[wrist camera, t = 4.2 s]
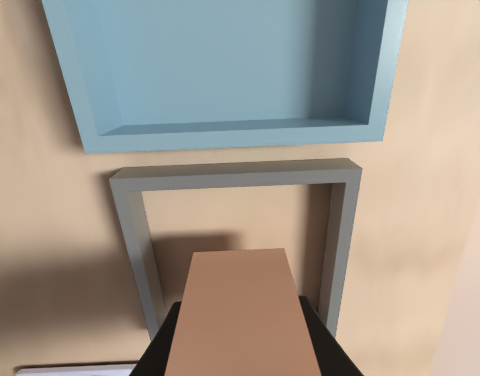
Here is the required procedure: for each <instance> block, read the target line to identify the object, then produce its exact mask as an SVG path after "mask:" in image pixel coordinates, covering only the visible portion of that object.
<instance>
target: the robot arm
mask: <svg viewBox="0 0 480 376" xmlns="http://www.w3.org/2000/svg"><path fill="white" fill-rule="evenodd" d="M298 298H299V301H300V305H301V308H302V311H303V315H304V318H305V322H306V325H307V328H308V332H309V335H310V339H311V342H312V346H313V349H314V352H315V356H316V359H317V363H318V366H319V369H320V373H321V376H364V375H363V374H362V373H361V372H360V370H359V369H358V368H357V367H356V366H355V364H354V363H353V362H352V361H351V359H350V358H349V357H348V356H347V354H346V353H345V352H344V350H343V349H342V348H341V346H340V345H339V344H338V342H337V341H336V340H335V338H334V337H333V336H332V334H331V333H330V331H329V330H328V329H327V327H326V326H325V324H324V323H323V321H322V320H321V318H320V317H319V315H318V314H317V312H316V311H315V309H314V307H313V306H312V304H311V303H310V301H309V299H308V298H307V297H306V296H298ZM181 303H182V301H181V302H175V303H174V304H173V305H172V307H171V309H170V311H169V313H168V315H167V317H166V318H165V320H164V322H163V324H162V325H161V327H160V329H159V330H158V332H157V334H156V335H155V337H154V338H153V340H152V342H151V343H150V345H149V346H148V348H147V349H146V351H145V353H144V354H143V356H142V357H141V359H140V360H139V362H138V363H137V364H120V365H97V366H75V367H53V368H30V369H20V370H19V371H18V372H17V373H16V374H15V376H165V371H166V367H167V363H168V359H169V354H170V350H171V346H172V342H173V337H174V333H175V329H176V325H177V320H178V316H179V312H180V308H181Z"/></svg>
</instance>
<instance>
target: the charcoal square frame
mask: <svg viewBox="0 0 480 376" xmlns="http://www.w3.org/2000/svg"><path fill="white" fill-rule="evenodd" d="M361 174H362V168H361V167H360V166H358V165H357V164H355V163H354V162H353V161H351V160H350V159H348V158H339V159H315V160H291V161H268V162H244V163H220V164H197V165H173V166H149V167H126V168H122V169H121V170H120V171H118V172H117V173H116V174H115V175H113V176H112V177H111V178H110V179H109V182H110V186H111V189H112V193H113V197H114V201H115V205H116V209H117V213H118V217H119V220H120V224H121V228H122V232H123V236H124V240H125V244H126V247H127V251H128V255H129V259H130V263H131V267H132V271H133V275H134V278H135V282H136V286H137V290H138V294H139V298H140V302H141V305H142V309H143V313H144V317H145V321H146V325H147V329H148V332H149V336H150V340H151V342H152V340H153V338H154V337H155V335H156V334H157V332H158V330H159V329H160V327H161V325H162V324H163V322H164V320H165V318H166V317H167V313H166V308H165V303H164V298H163V294H162V289H161V284H160V279H159V275H158V270H157V265H156V260H155V256H154V251H153V246H152V241H151V236H150V232H149V227H148V222H147V217H146V213H145V208H144V203H143V198H142V193H141V191H154V190H177V189H200V188H224V187H247V186H271V185H294V184H318V183H332V190H331V199H330V207H329V216H328V225H327V234H326V243H325V251H324V260H323V269H322V278H321V287H320V295H319V304H318V312H317V314H318V315H319V317H320V318H321V320H322V321H323V323H324V324H325V326H326V327H327V329H328V330H329V331H330V333H331V334H332V336H333V337H334V338H335V336H336V330H337V324H338V317H339V311H340V305H341V299H342V292H343V286H344V280H345V274H346V267H347V261H348V255H349V249H350V242H351V236H352V230H353V224H354V217H355V211H356V205H357V199H358V192H359V186H360V180H361Z"/></svg>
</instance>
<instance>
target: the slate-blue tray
mask: <svg viewBox="0 0 480 376" xmlns="http://www.w3.org/2000/svg"><path fill="white" fill-rule="evenodd" d="M42 4H43V7H44V11H45V14H46V18H47V21H48V25H49V28H50V32H51V35H52V39H53V42H54V46H55V49H56V53H57V56H58V60H59V63H60V67H61V70H62V74H63V77H64V81H65V84H66V88H67V91H68V95H69V98H70V102H71V105H72V109H73V112H74V116H75V119H76V123H77V126H78V130H79V133H80V137H81V140H82V144H83V147H84V151H85V154H90V153H114V152H138V151H161V150H185V149H209V148H233V147H256V146H280V145H304V144H327V143H351V142H375V141H383V136H384V130H385V125H386V119H387V114H388V109H389V103H390V98H391V92H392V87H393V81H394V76H395V71H396V65H397V60H398V54H399V49H400V44H401V38H402V33H403V27H404V22H405V16H406V11H407V6H408V0H42Z"/></svg>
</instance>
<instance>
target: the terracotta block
mask: <svg viewBox="0 0 480 376" xmlns="http://www.w3.org/2000/svg"><path fill="white" fill-rule="evenodd" d="M165 376H321V373H320V369H319V366H318V363H317V359H316V356H315V352H314V349H313V346H312V342H311V339H310V335H309V332H308V328H307V325H306V322H305V318H304V315H303V311H302V308H301V305H300V301H299V298H298V294H297V291H296V288H295V284H294V281H293V277H292V274H291V271H290V267H289V264H288V260H287V257H286V253H285V250H284V248H279V249H257V250H234V251H211V252H193V257H192V261H191V265H190V269H189V274H188V278H187V282H186V286H185V291H184V295H183V299H182V303H181V308H180V312H179V316H178V320H177V325H176V329H175V333H174V337H173V342H172V346H171V350H170V354H169V359H168V363H167V367H166V371H165Z"/></svg>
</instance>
